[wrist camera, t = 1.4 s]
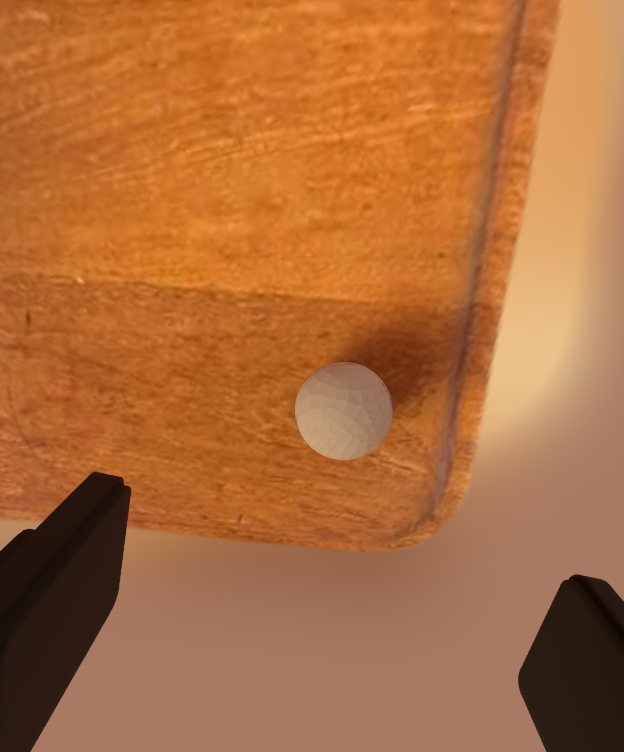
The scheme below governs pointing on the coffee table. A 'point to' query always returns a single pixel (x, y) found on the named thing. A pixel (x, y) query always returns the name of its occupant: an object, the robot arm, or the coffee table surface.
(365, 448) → the golf ball
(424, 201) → the coffee table surface
